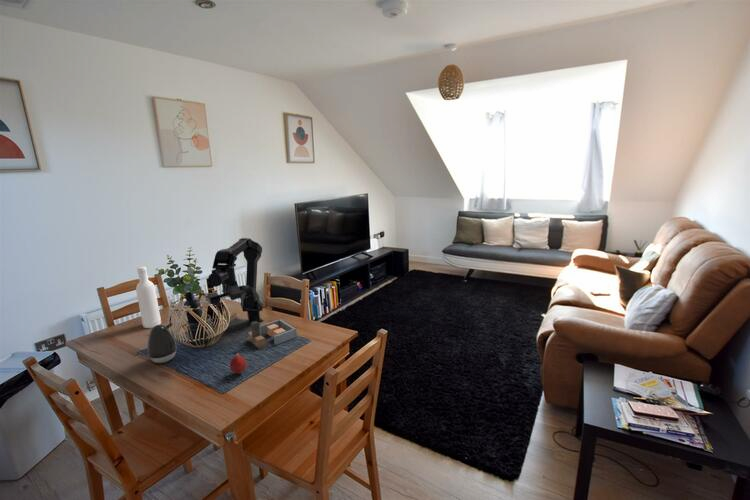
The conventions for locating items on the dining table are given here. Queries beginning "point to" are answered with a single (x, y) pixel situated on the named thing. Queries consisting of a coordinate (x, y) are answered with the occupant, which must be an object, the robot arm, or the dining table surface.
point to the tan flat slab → (233, 316)
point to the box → (283, 336)
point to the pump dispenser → (161, 344)
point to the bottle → (147, 300)
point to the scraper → (256, 336)
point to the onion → (238, 364)
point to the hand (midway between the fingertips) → (232, 312)
